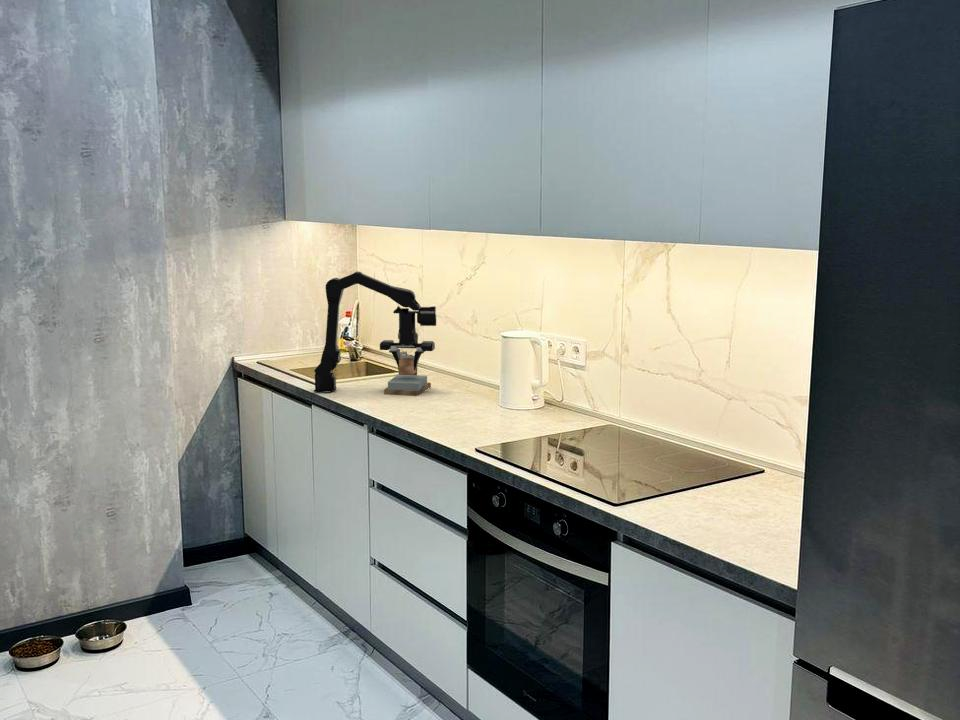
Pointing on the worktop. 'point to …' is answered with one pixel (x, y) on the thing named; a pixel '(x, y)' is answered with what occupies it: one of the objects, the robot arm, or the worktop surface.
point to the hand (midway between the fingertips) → (407, 369)
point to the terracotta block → (406, 366)
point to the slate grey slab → (407, 382)
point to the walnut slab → (407, 391)
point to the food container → (405, 355)
